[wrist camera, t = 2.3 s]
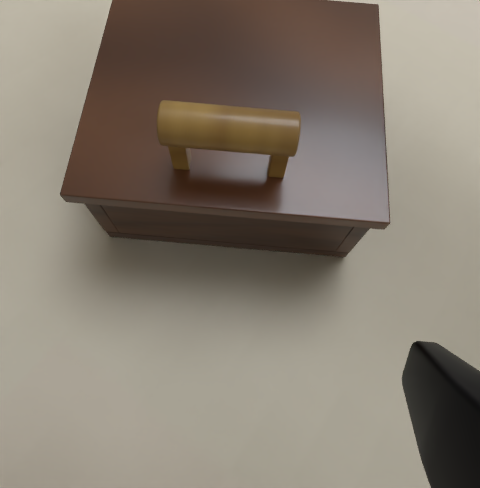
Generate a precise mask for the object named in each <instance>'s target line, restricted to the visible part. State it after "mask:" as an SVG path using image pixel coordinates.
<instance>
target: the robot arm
mask: <svg viewBox="0 0 480 488" xmlns="http://www.w3.org/2000/svg"><path fill="white" fill-rule="evenodd" d="M402 385H403V389H404V393H405V397H406V401H407V405H408V409H409V413H410V417H411V421H412V425H413V429H414V433H415V437H416V441H417V445H418V449H419V453H420V456H421V460H422V463H423V466H424V469H425V472H426V475H427V478H428V481H429V483H430V486H431V488H480V371H479V370H477V369H475V368H474V367H472V366H471V365H469V364H468V363H466V362H465V361H463V360H462V359H460V358H459V357H457V356H456V355H454V354H453V353H451V352H450V351H448V350H447V349H445V348H444V347H442V346H441V345H439V344H437V343H434V342H423V341H416V342H414V343H413V344H412V346H411V348H410V351H409V355H408V358H407V361H406V364H405V368H404V371H403V375H402Z"/></svg>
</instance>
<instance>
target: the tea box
mask: <svg viewBox="0 0 480 488" xmlns="http://www.w3.org/2000/svg"><path fill="white" fill-rule="evenodd" d="M85 205H86V206H87V208H88V209H89V210H90V212H91V213H92V214H93V216H94V217H95V218H96V220H97V221H98V222H99V224H100V225H101V226H102V227H103V229H104V230H105V231H106V232H107V234H108V235H109V236H110V237H120V238H131V239H143V240H154V241H166V242H177V243H189V244H200V245H211V246H223V247H234V248H246V249H257V250H269V251H280V252H292V253H303V254H315V255H326V256H338V257H346V255H347V254H348V253H349V252H350V251H351V250H352V249H353V247H354V246H355V245H356V244H357V243H358V242H359V240H360V239H361V238H362V237H363V236H364V235H365V233H366V232H367V231H368V230H369V229H370V228H361V227H349V226H338V225H326V224H315V223H303V222H292V221H280V220H269V219H257V218H246V217H234V216H222V215H211V214H199V213H188V212H176V211H165V210H153V209H142V208H130V207H119V206H107V205H96V204H85Z"/></svg>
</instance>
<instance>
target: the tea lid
mask: <svg viewBox="0 0 480 488" xmlns="http://www.w3.org/2000/svg"><path fill="white" fill-rule="evenodd" d="M60 195H61V197H62V198H63V199H64V200H65V201H66V202H72V203H84V204H96V205H107V206H119V207H130V208H142V209H153V210H165V211H176V212H188V213H199V214H211V215H222V216H234V217H246V218H257V219H269V220H280V221H292V222H303V223H315V224H326V225H338V226H349V227H361V228H372V229H385V228H386V227H387V226H388V225H389V224H390V210H389V191H388V173H387V154H386V136H385V117H384V99H383V80H382V62H381V43H380V25H379V6H378V4H366V3H354V2H342V1H330V0H112V4H111V8H110V11H109V15H108V19H107V23H106V26H105V30H104V34H103V37H102V41H101V45H100V48H99V52H98V56H97V59H96V63H95V67H94V70H93V74H92V78H91V82H90V85H89V89H88V93H87V96H86V100H85V104H84V107H83V111H82V115H81V118H80V122H79V126H78V130H77V133H76V137H75V141H74V144H73V148H72V152H71V155H70V159H69V163H68V166H67V170H66V174H65V178H64V181H63V185H62V189H61V192H60Z"/></svg>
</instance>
